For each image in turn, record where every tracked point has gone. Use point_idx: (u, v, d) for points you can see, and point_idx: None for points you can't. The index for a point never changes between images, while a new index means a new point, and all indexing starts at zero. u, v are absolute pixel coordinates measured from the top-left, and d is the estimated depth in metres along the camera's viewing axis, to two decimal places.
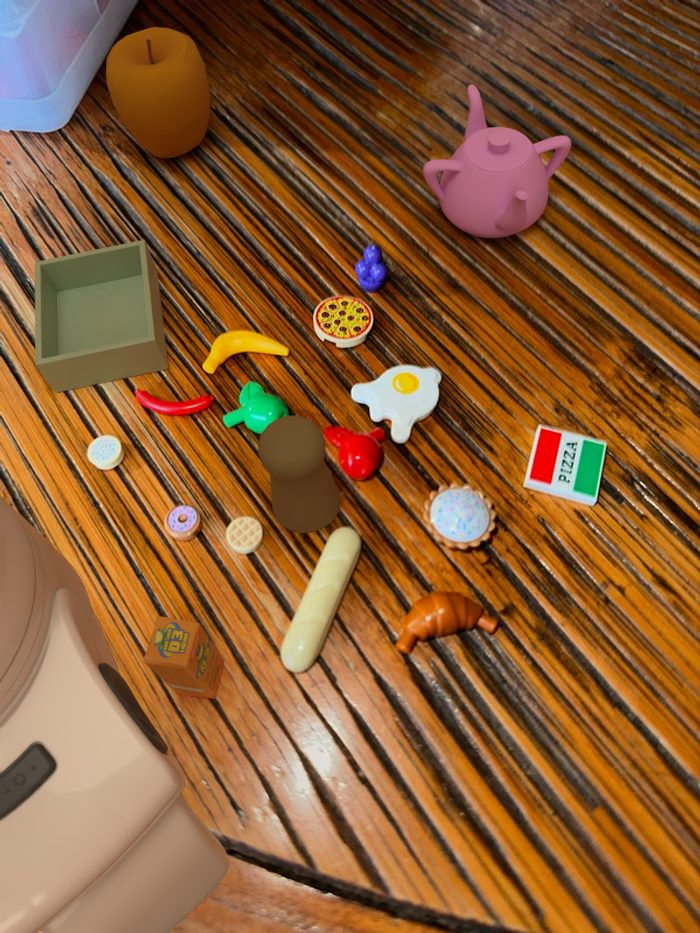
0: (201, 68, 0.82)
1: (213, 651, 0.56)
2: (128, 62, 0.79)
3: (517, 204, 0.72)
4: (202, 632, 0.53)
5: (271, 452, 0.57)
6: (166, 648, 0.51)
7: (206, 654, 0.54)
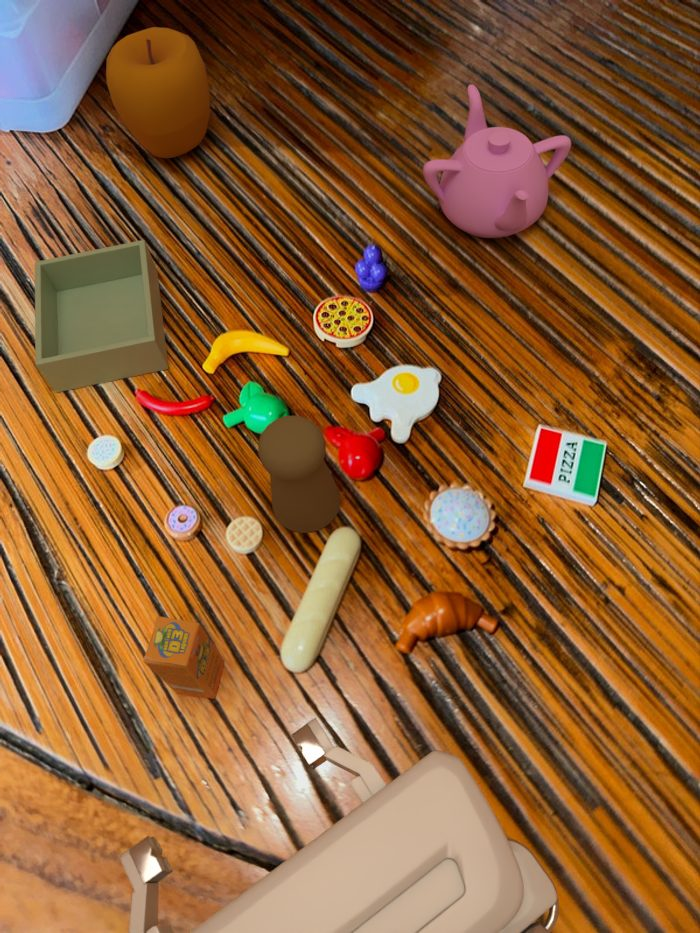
0: (201, 68, 0.82)
1: (213, 651, 0.56)
2: (128, 62, 0.79)
3: (517, 204, 0.72)
4: (202, 632, 0.53)
5: (271, 452, 0.57)
6: (166, 648, 0.51)
7: (206, 654, 0.54)
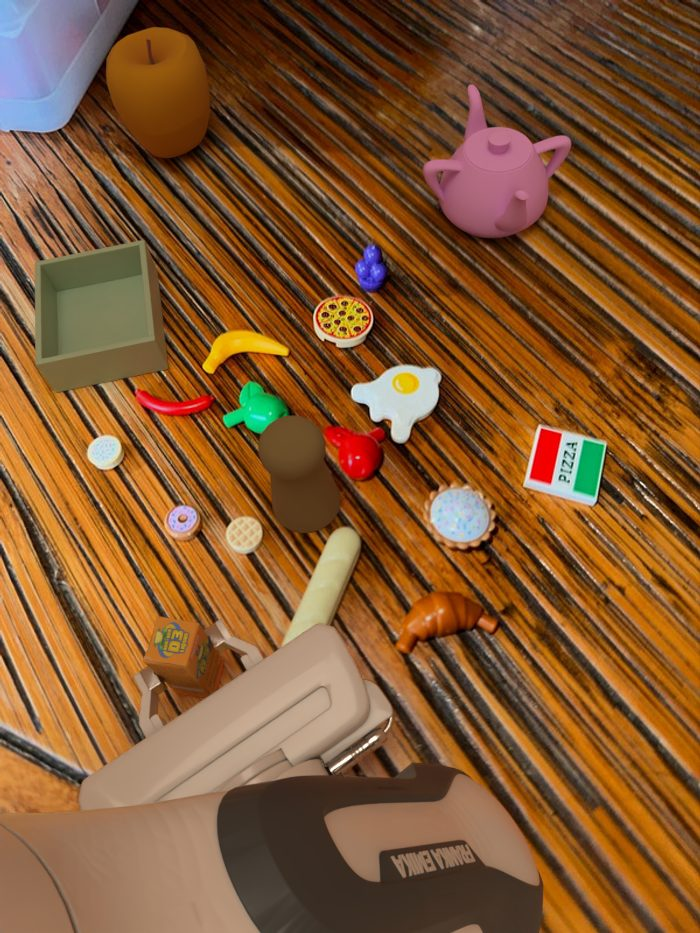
0: (201, 68, 0.82)
1: (213, 651, 0.56)
2: (128, 63, 0.79)
3: (517, 204, 0.72)
4: (202, 632, 0.53)
5: (271, 452, 0.57)
6: (165, 648, 0.51)
7: (206, 654, 0.54)
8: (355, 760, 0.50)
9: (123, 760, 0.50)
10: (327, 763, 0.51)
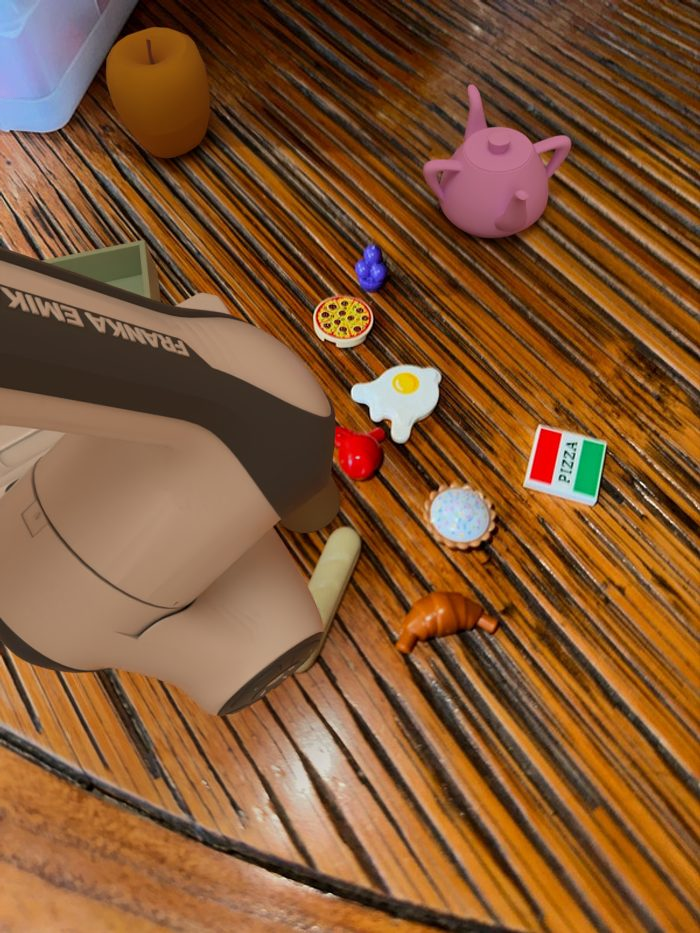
0: (201, 68, 0.82)
1: None
2: (128, 62, 0.79)
3: (517, 204, 0.72)
4: None
5: None
6: None
7: None
8: None
9: None
10: None
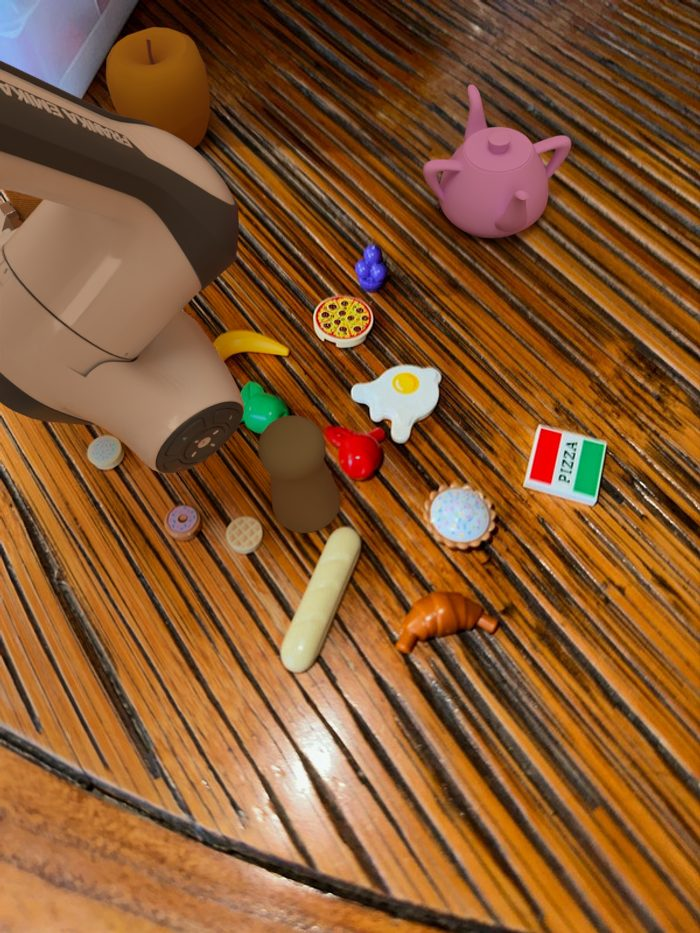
0: (201, 68, 0.82)
1: None
2: (128, 63, 0.79)
3: (517, 204, 0.72)
4: None
5: (271, 452, 0.57)
6: None
7: None
8: None
9: None
10: None
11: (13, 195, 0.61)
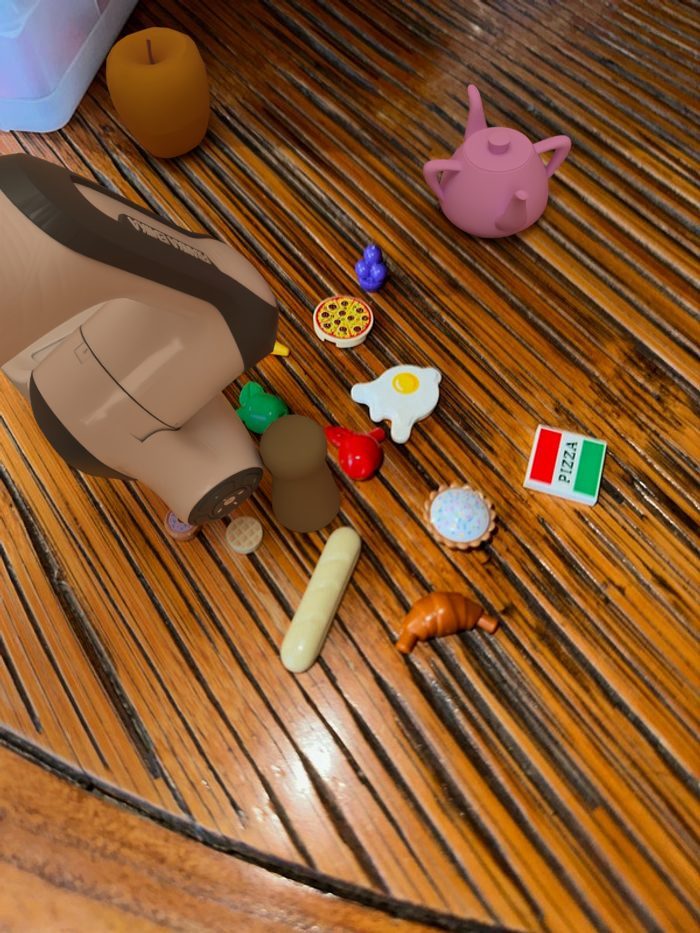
0: (201, 68, 0.82)
1: None
2: (128, 62, 0.79)
3: (517, 204, 0.72)
4: None
5: (273, 451, 0.57)
6: None
7: None
8: None
9: None
10: None
11: None
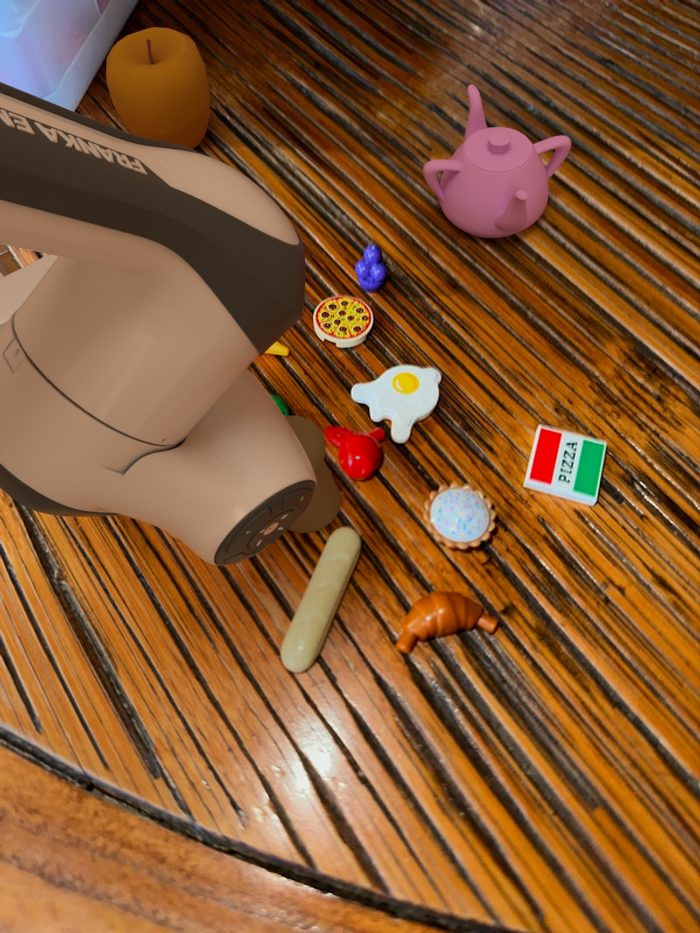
0: (201, 68, 0.82)
1: None
2: (128, 62, 0.79)
3: (517, 204, 0.72)
4: None
5: None
6: None
7: None
8: None
9: None
10: None
11: None
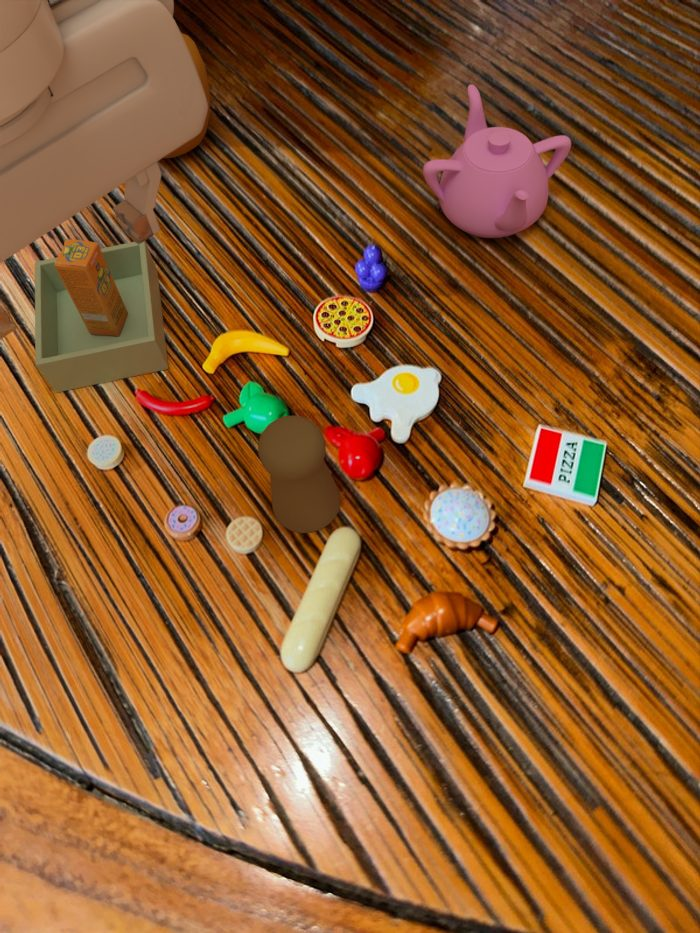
0: (201, 68, 0.82)
1: (114, 288, 0.74)
2: None
3: (517, 204, 0.72)
4: (101, 255, 0.70)
5: (271, 452, 0.57)
6: (71, 256, 0.68)
7: (107, 281, 0.72)
8: None
9: None
10: None
11: (70, 284, 0.70)
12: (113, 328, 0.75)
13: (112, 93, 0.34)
